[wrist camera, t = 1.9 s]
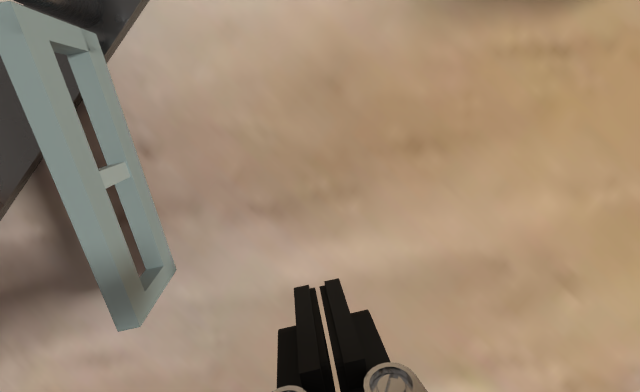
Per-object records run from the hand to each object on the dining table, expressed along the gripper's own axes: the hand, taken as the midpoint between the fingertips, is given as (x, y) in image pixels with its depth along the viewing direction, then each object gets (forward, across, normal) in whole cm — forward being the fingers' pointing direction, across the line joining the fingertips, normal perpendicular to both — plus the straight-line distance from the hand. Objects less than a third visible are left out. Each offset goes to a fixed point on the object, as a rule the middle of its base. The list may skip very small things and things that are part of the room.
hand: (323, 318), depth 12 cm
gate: (+18, +13, -5) cm, 23 cm away
